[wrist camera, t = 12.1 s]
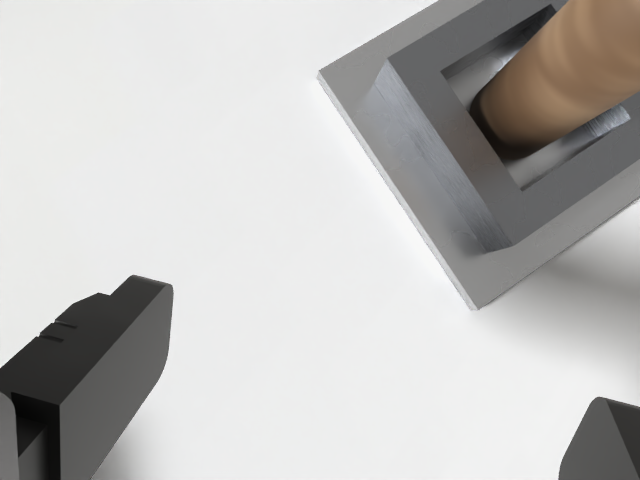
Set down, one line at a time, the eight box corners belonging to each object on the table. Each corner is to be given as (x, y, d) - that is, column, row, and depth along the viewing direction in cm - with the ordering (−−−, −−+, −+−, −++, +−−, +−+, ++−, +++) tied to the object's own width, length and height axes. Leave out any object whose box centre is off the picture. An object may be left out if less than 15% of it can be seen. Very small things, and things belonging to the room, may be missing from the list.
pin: (453, 105, 25) (635, -89, 13) (518, 65, 25) (748, -157, 13) (500, 175, 24) (728, 43, 13) (564, 132, 25) (840, -32, 13)
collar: (316, 78, 25) (325, 42, 22) (528, -46, 27) (566, -96, 24) (471, 310, 24) (504, 309, 21) (676, 165, 26) (735, 144, 23)
